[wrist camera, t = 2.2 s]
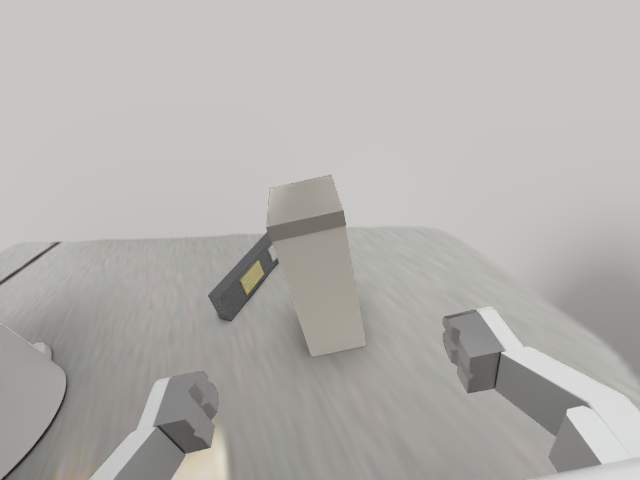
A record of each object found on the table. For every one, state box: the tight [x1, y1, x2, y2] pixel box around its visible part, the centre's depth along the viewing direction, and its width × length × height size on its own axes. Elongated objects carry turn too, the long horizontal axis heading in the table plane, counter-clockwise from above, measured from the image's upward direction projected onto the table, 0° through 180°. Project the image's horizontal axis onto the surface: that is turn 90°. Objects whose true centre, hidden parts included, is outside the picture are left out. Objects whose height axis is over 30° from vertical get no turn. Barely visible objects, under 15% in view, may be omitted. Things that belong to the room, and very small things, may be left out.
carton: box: [266, 175, 366, 357], centre depth 27 cm, size 5×6×14 cm
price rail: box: [208, 232, 278, 321], centre depth 38 cm, size 2×14×4 cm, turn 155°
